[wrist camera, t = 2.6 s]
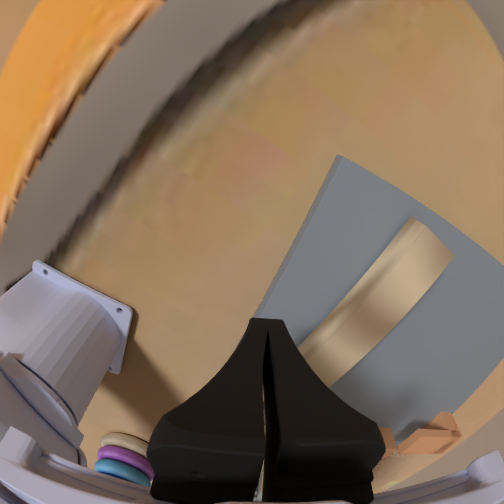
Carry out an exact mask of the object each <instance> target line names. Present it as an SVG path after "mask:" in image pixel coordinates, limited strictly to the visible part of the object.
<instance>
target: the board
mask: <svg viewBox="0 0 504 504" xmlns="http://www.w3.org/2000/svg"><path fill="white" fill-rule="evenodd" d="M411 216H412V217H414V218H415V219H416V220H418V221H419V222H421V223H422V224H424V225H425V226H427V227H428V228H429V229H430V230H431V231H432V232H433V233H434V234H435V235H436V236H437V238H438V239H439V240H440V241H441V242H442V243H443V244H444V245H445V246H446V247H447V248H448V249H449V250H450V251H451V252H452V254H453V255H454V258H453V259H452V260H451V262H450V263H449V264H448V265H447V267H446V268H445V269H444V271H443V272H442V273H441V274H440V276H439V277H438V278H437V279H436V280H435V282H434V283H433V284H432V285H431V286H430V288H429V289H428V290H427V291H426V292H425V293H424V295H423V296H422V297H421V298H420V299H419V300H418V301H417V303H416V304H415V305H414V306H413V307H412V308H411V309H410V310H409V311H408V313H407V314H406V315H405V316H404V317H403V318H402V319H401V320H400V321H399V322H398V323H397V324H396V325H395V326H394V327H393V328H392V330H391V331H390V332H389V333H388V334H387V335H386V336H385V337H384V338H383V339H382V340H381V341H380V342H379V343H378V344H377V345H376V346H375V347H373V348H372V349H371V350H370V351H369V352H368V353H367V354H366V355H365V356H364V357H363V358H362V359H361V360H360V361H359V362H358V363H356V364H355V365H354V366H353V367H352V368H351V369H350V370H349V371H348V372H346V373H345V374H344V375H343V376H342V377H341V378H340V379H339V380H337V381H336V382H335V383H334V384H333V385H331V386H330V387H329V389H330V390H331V391H332V392H334V393H335V394H336V395H337V396H338V397H339V398H340V399H342V400H343V401H344V402H345V403H347V404H348V405H349V406H351V407H352V408H353V409H355V410H356V411H358V412H359V413H361V414H363V415H364V416H366V417H368V418H369V419H371V420H373V421H374V422H376V423H377V425H378V427H385V428H391V431H392V434H393V437H394V440H395V443H396V445H399V444H400V443H402V442H403V441H404V440H405V439H407V438H408V437H409V436H410V435H411V434H413V433H414V432H415V431H416V430H417V429H423V428H424V427H425V426H426V425H427V424H428V423H429V422H431V421H432V420H433V419H434V418H435V417H436V416H437V415H438V414H439V413H440V412H441V411H442V412H451V413H453V412H455V411H456V410H457V409H458V408H459V407H460V406H461V405H462V404H463V403H464V402H465V401H466V400H467V399H468V398H469V396H470V395H471V394H472V393H473V392H474V391H475V390H476V389H477V388H478V387H479V386H480V385H481V384H482V382H483V381H484V380H485V379H486V378H487V377H488V376H489V374H490V373H491V372H492V371H493V370H494V368H495V367H496V366H497V365H498V364H499V362H500V361H501V360H502V359H503V357H504V266H503V265H502V264H501V263H500V262H499V261H497V260H496V259H495V258H494V257H493V256H491V255H490V254H489V253H488V252H487V251H485V250H484V249H483V248H482V247H480V246H479V245H478V244H477V243H475V242H474V241H473V240H472V239H470V238H469V237H468V236H466V235H465V234H464V233H462V232H461V231H460V230H458V229H457V228H456V227H454V226H453V225H452V224H450V223H449V222H447V221H446V220H445V219H443V218H442V217H440V216H439V215H437V214H436V213H435V212H433V211H432V210H430V209H429V208H427V207H426V206H424V205H423V204H421V203H420V202H418V201H417V200H415V199H414V198H412V197H411V196H409V195H408V194H406V193H404V192H403V191H401V190H400V189H398V188H396V187H395V186H393V185H392V184H390V183H388V182H387V181H385V180H383V179H382V178H380V177H378V176H377V175H375V174H373V173H371V172H370V171H368V170H366V169H365V168H363V167H361V166H359V165H357V164H356V163H354V162H352V161H350V160H348V159H346V158H345V157H343V156H340V155H337V156H336V159H335V161H334V163H333V165H332V167H331V169H330V171H329V173H328V175H327V177H326V179H325V181H324V183H323V185H322V187H321V189H320V191H319V193H318V195H317V197H316V199H315V201H314V203H313V205H312V207H311V209H310V211H309V213H308V215H307V217H306V219H305V220H304V222H303V224H302V226H301V228H300V230H299V232H298V234H297V236H296V238H295V240H294V242H293V244H292V246H291V248H290V249H289V251H288V253H287V255H286V257H285V259H284V261H283V263H282V265H281V267H280V268H279V270H278V272H277V274H276V276H275V278H274V280H273V282H272V283H271V285H270V287H269V289H268V291H267V293H266V295H265V296H264V298H263V300H262V302H261V304H260V306H259V308H258V309H257V311H256V313H255V315H254V317H253V318H267V319H282V320H283V321H284V322H285V325H286V327H287V329H288V332H289V334H290V336H291V337H292V339H293V341H294V343H295V345H296V346H297V347H298V346H299V345H300V344H301V343H302V342H303V341H304V340H305V339H306V338H307V337H308V336H309V335H310V334H311V333H312V332H313V331H314V330H315V329H316V328H317V327H318V326H319V324H320V323H321V322H322V321H323V320H324V319H325V318H326V317H327V316H328V315H329V314H330V313H331V312H332V311H333V309H334V308H335V307H336V306H337V305H338V304H339V303H340V302H341V301H342V299H343V298H344V297H345V296H346V295H347V294H348V293H349V292H350V290H351V289H352V288H353V287H354V286H355V285H356V284H357V282H358V281H359V280H360V279H361V278H362V277H363V275H364V274H365V273H366V272H367V271H368V270H369V268H370V267H371V266H372V265H373V264H374V262H375V261H376V260H377V259H378V257H379V256H380V255H381V254H382V253H383V251H384V250H385V249H386V248H387V246H388V245H389V244H390V243H391V241H392V240H393V239H394V237H395V236H396V235H397V234H398V232H399V231H400V230H401V228H402V227H403V226H404V225H405V223H406V222H407V221H408V219H409V218H410V217H411ZM245 332H246V331H245ZM244 334H245V333H244ZM243 336H244V335H243ZM242 338H243V337H242ZM242 338H241V339H242ZM240 341H241V340H240ZM239 343H240V342H239ZM238 345H239V344H238ZM236 348H237V347H236ZM235 350H236V349H235Z"/></svg>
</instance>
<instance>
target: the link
mask: <svg viewBox="0 0 504 504" xmlns="http://www.w3.org/2000/svg"><path fill="white" fill-rule="evenodd" d="M453 258H454V255H453V254H452V252H451V251H450V250H449V249H448V248H447V247H446V246H445V245H444V244H443V243H442V242H441V241H440V240H439V239H438V238H437V236H436V235H435V234H434V233H433V232H432V231H431V230H430V229H429V228H428V227H427V226H425V225H424V224H422V223H421V222H419V221H418V220H416V219H415V218H414V217H412V216H411V217H410V218H409V219H408V221H407V222H406V223H405V225H404V226H403V227H402V228H401V230H400V231H399V232H398V234H397V235H396V236H395V237H394V239H393V240H392V241H391V243H390V244H389V245H388V246H387V248H386V249H385V250H384V251H383V253H382V254H381V255H380V256H379V257H378V259H377V260H376V261H375V262H374V264H373V265H372V266H371V267H370V268H369V270H368V271H367V272H366V273H365V274H364V275H363V277H362V278H361V279H360V280H359V281H358V282H357V284H356V285H355V286H354V287H353V288H352V289H351V290H350V292H349V293H348V294H347V295H346V296H345V297H344V298H343V299H342V301H341V302H340V303H339V304H338V305H337V306H336V307H335V308H334V309H333V311H332V312H331V313H330V314H329V315H328V316H327V317H326V318H325V319H324V320H323V321H322V322H321V323H320V324H319V326H318V327H317V328H316V329H315V330H314V331H313V332H312V333H311V334H310V335H309V336H308V337H307V338H306V339H305V340H304V341H303V342H302V343H301V344H300V345H299V346H298V347H297V348H298V350H299V351H300V353H301V354H302V356H303V357H304V359H305V360H306V362H307V363H308V364H309V366H310V367H311V368H312V370H313V371H314V372H315V374H316V375H317V376H318V377H319V378H320V379H321V380H322V382H323V383H324V384H325V385H326V386H327V387H328V388H329V387H330V386H331V385H333V384H334V383H335V382H336V381H337V380H339V379H340V378H341V377H342V376H343V375H344V374H345V373H346V372H348V371H349V370H350V369H351V368H352V367H353V366H354V365H355V364H356V363H358V362H359V361H360V360H361V359H362V358H363V357H364V356H365V355H366V354H367V353H368V352H369V351H370V350H371V349H372V348H373V347H375V346H376V345H377V344H378V343H379V342H380V341H381V340H382V339H383V338H384V337H385V336H386V335H387V334H388V333H389V332H390V331H391V330H392V328H393V327H394V326H395V325H396V324H397V323H398V322H399V321H400V320H401V319H402V318H403V317H404V316H405V315H406V314H407V313H408V311H409V310H410V309H411V308H412V307H413V306H414V305H415V304H416V303H417V301H418V300H419V299H420V298H421V297H422V296H423V295H424V293H425V292H426V291H427V290H428V289H429V288H430V286H431V285H432V284H433V283H434V282H435V280H436V279H437V278H438V277H439V276H440V274H441V273H442V272H443V271H444V269H445V268H446V267H447V265H448V264H449V263H450V262H451V260H452V259H453ZM263 401H264V394H263ZM265 430H266V426H265V425H264V431H265Z"/></svg>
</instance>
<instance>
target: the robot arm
mask: <svg viewBox="0 0 504 504" xmlns="http://www.w3.org/2000/svg"><path fill="white" fill-rule="evenodd" d="M46 270H47V271H46ZM119 308H121V309H122V311H121V310H119ZM132 316H133V310H132V309H131V307H129V306H127V305H125V304H123V303H121V302H119V301H117V300H114V299H112V298H110V297H108V296H106V295H104V294H102V293H100V292H98V291H96V290H94V289H92V288H90V287H88V286H86V285H84V284H82V283H80V282H78V281H76V280H74V279H73V278H71V277H69V276H67V275H65V274H63V273H61V272H59V271H58V270H56V269H54V268H52V267H50V266H49V265H47V264H45V263H43V262H42V261H40V260H36V261H34V263H33V271H32V272H30V273H29V274H28V275H27V276H25V277H24V278H23V279H22V280H20V281H19V282H18V283H17V284H15V285H14V286H13V287H12V288H11V289H9V290H8V291H7V292H6V293H5V294H4V295H2V296H1V297H0V504H500V503H501V502H503V501H504V462H503V460H502V458H501V455H500V453H499V451H498V450H494V451H492V452H489V453H487V454H485V455H482V456H480V457H478V458H477V459H475V460H474V461H473V462H472V463H471V464H469V466H468V467H467V468H466V469H463V470H461V471H458V472H455V473H452V474H449V475H447V476H443V477H440V478H437V479H434V480H431V481H427V482H424V483H420V484H417V485H413V486H409V487H405V488H401V489H396V490H392V491H387V492H382V493H377V494H373V491H372V486H371V482H372V481H373V478H374V477H373V472H372V469H373V468H374V467H375V466H376V465H377V463H378V462H379V461H380V460H381V459H382V457H383V456H384V454H385V452H386V446H385V442H384V439H383V436H382V434H381V431H380V429H379V427H378V425H377V423H376V422H374V421H373V420H371V419H369V418H368V417H366V416H364V415H363V414H361V413H359V412H358V411H356V410H355V409H353V408H352V407H351V406H349V405H348V404H347V403H345V402H344V401H343V400H342V399H340V398H339V397H338V396H337V395H336V394H335V393H334V392H332V391H331V390H330V389H329V388H328V387H327V386H326V385H325V384H324V383H323V382H322V380H321V379H320V378H319V377H318V376H317V375H316V374H315V372H314V371H313V370H312V368H311V367H310V366H309V364H308V363H307V362H306V360H305V359H304V357H303V356H302V354H301V353H300V351H299V350H298V348H297V346H296V345H295V343H294V341H293V339H292V337H291V336H290V334H289V332H288V329H287V327H286V325H285V322H284V321H283V320H282V319H267V318H251V319H250V320H249V324H248V327H247V329H246V332H245V334H244V336H243V338H242V339H241V341H240V343H239V345H238V346H237V348H236V350H235V351H234V352H233V354H232V355H231V357H230V358H229V360H228V361H227V362H226V363H225V365H224V366H223V367H222V368H221V370H220V371H219V372H218V373H217V374H216V375H215V376H214V377H213V378H212V379H211V380H210V381H209V382H208V383H207V384H206V385H205V386H204V387H203V388H202V389H200V390H199V391H198V392H197V393H195V394H194V395H193V396H192V397H190V398H189V399H188V400H186V401H185V402H184V403H182V404H181V405H179V406H177V407H176V408H174V409H173V410H171V411H169V412H168V413H166V414H164V415H163V416H162V418H161V419H160V421H159V422H158V424H157V426H156V428H155V429H154V431H153V433H152V436H151V438H150V441H149V444H148V448H147V451H146V456H147V459H148V461H149V463H150V465H151V467H152V469H153V471H154V473H155V474H154V478H153V482H152V486H151V487H148V486H144V485H140V484H136V483H132V482H129V481H125V480H122V479H118V478H115V477H112V476H109V475H106V474H103V473H100V472H97V471H94V470H91V469H89V468H87V461H86V457H85V455H84V452H83V451H82V450H81V448H80V447H79V446H80V444H81V442H82V440H83V437H84V435H83V434H82V433H81V432H80V431H79V429H78V428H77V427H78V425H79V423H80V421H81V419H82V417H83V415H84V413H85V411H86V409H87V407H88V406H89V404H90V402H91V400H92V398H93V396H94V394H95V392H96V390H97V388H98V387H99V385H100V383H101V381H102V379H103V377H104V376H105V374H106V372H107V371H109V372H111V373H113V374H119V373H120V371H121V367H122V362H123V357H124V352H125V347H126V343H127V338H128V334H129V329H130V325H131V321H132ZM263 394H264V407H265V423H266V430H265V431H264V413H263ZM263 461H264V473H263V489H262V502H253V499H254V495H255V491H256V488H257V486H258V482H259V478H260V473H261V469H262V465H263Z"/></svg>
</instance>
